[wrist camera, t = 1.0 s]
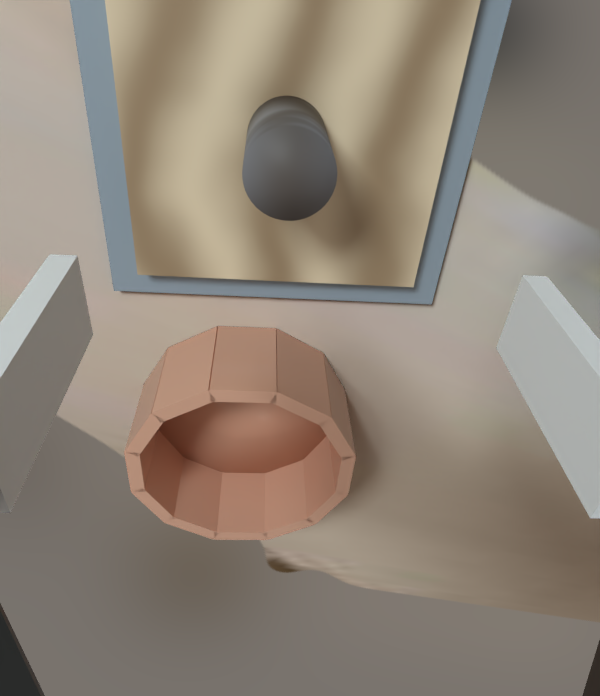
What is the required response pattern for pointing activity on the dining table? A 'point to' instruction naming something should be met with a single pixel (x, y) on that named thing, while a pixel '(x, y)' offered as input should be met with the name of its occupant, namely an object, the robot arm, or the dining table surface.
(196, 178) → the oak lid
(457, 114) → the slate mat
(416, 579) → the dining table surface
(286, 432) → the terracotta bowl
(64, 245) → the dining table surface
